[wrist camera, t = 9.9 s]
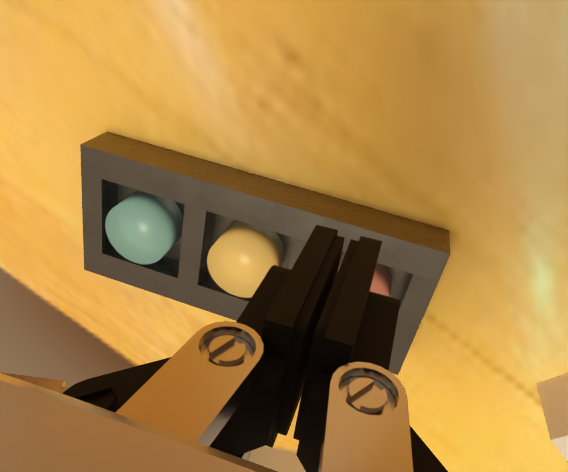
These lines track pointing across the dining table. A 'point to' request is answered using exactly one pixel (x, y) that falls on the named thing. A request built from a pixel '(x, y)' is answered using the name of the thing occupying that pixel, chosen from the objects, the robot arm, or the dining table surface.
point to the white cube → (556, 410)
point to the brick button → (378, 279)
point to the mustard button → (244, 258)
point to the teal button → (144, 227)
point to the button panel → (249, 209)
